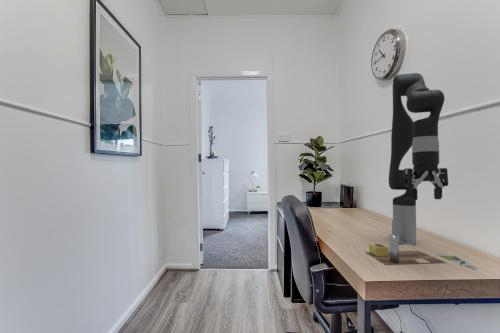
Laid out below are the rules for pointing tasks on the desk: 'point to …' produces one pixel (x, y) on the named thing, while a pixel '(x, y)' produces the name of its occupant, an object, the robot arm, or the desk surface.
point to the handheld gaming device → (457, 260)
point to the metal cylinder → (394, 248)
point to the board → (407, 258)
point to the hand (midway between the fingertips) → (425, 199)
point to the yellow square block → (378, 249)
